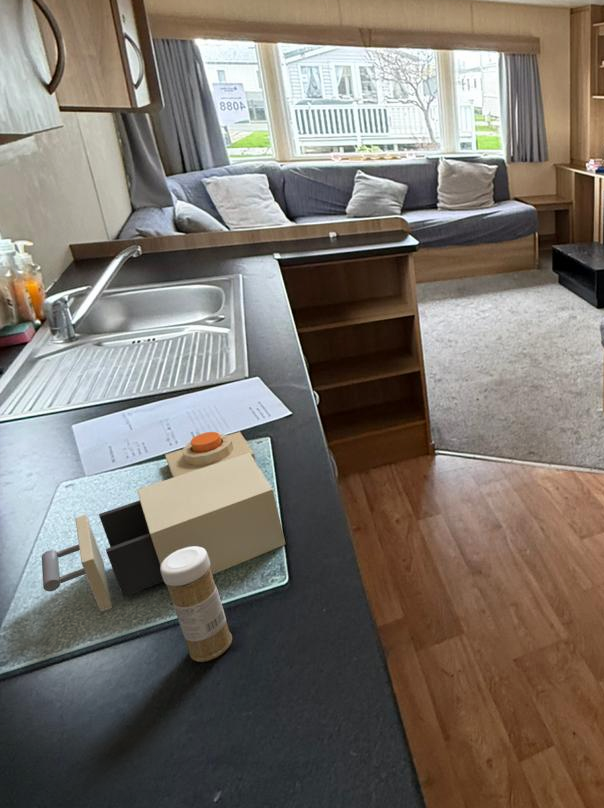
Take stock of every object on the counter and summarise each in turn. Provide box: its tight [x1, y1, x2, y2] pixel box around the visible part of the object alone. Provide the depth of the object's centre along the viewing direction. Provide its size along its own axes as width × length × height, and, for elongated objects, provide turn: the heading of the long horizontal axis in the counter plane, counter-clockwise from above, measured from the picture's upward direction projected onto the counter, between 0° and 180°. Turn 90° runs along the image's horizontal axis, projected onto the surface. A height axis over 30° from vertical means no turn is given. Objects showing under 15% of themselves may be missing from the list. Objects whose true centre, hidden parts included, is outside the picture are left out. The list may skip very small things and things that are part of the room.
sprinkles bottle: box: [160, 546, 233, 663], centre depth 75 cm, size 5×5×14 cm
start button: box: [190, 431, 222, 453], centre depth 112 cm, size 4×4×2 cm
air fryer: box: [136, 453, 286, 591], centre depth 93 cm, size 15×13×10 cm
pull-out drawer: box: [41, 499, 164, 613], centre depth 87 cm, size 18×11×8 cm, turn 130°
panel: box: [164, 431, 258, 478], centre depth 113 cm, size 12×10×4 cm
